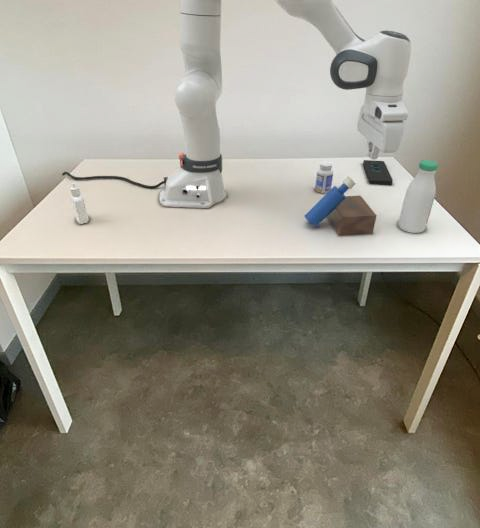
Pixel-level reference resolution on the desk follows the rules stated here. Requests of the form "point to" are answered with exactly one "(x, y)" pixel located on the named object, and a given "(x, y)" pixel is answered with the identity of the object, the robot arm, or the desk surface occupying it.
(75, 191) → the eye dropper bottle
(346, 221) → the wooden box
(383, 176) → the smart home device
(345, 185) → the bottle
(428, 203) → the milk bottle
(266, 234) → the desk surface
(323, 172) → the pill bottle
